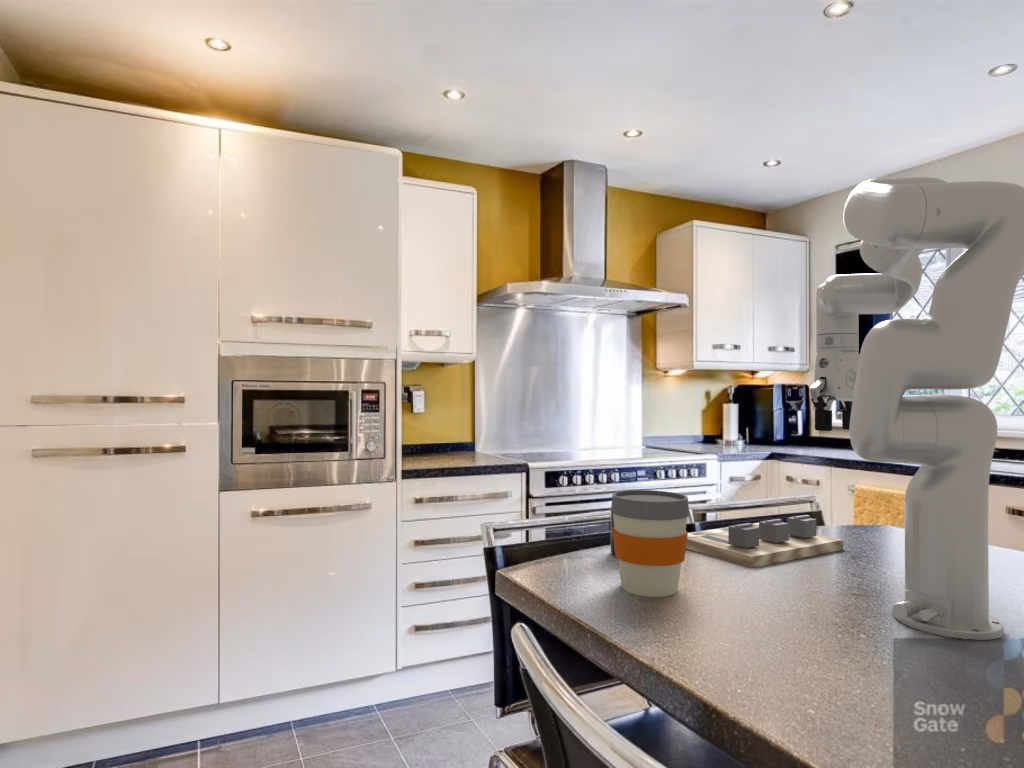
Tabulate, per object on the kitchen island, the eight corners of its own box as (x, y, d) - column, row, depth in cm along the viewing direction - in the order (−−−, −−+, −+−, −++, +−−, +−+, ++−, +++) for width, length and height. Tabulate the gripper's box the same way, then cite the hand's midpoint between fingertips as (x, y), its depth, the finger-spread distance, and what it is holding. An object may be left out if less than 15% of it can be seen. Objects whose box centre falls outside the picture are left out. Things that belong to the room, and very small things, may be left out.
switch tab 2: (775, 543, 123) (775, 522, 123) (758, 539, 126) (758, 519, 126) (789, 540, 125) (789, 520, 125) (771, 536, 128) (772, 517, 128)
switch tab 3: (804, 538, 127) (804, 518, 127) (786, 534, 131) (786, 515, 131) (816, 536, 129) (816, 516, 130) (799, 532, 133) (799, 513, 133)
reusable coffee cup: (662, 574, 109) (662, 488, 109) (705, 596, 97) (705, 500, 97) (597, 580, 105) (597, 491, 105) (634, 604, 93) (634, 503, 93)
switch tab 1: (744, 548, 118) (744, 527, 118) (728, 543, 122) (728, 523, 122) (759, 545, 120) (759, 525, 120) (742, 541, 124) (742, 521, 124)
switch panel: (752, 567, 113) (752, 555, 113) (672, 544, 131) (672, 534, 131) (843, 549, 127) (843, 538, 127) (760, 530, 145) (760, 521, 145)
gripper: (831, 340, 116) (831, 432, 116) (879, 345, 125) (879, 430, 125) (794, 343, 122) (794, 430, 122) (842, 347, 132) (842, 428, 131)
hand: (837, 430), depth 123 cm, fingers open, 9 cm apart
